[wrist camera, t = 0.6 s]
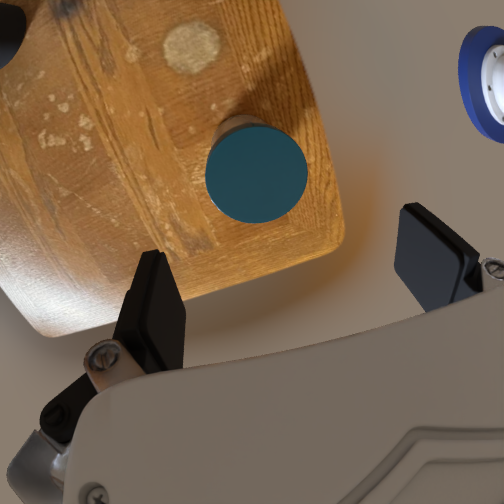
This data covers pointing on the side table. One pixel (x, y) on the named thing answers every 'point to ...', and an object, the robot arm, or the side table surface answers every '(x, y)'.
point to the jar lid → (255, 173)
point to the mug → (10, 31)
